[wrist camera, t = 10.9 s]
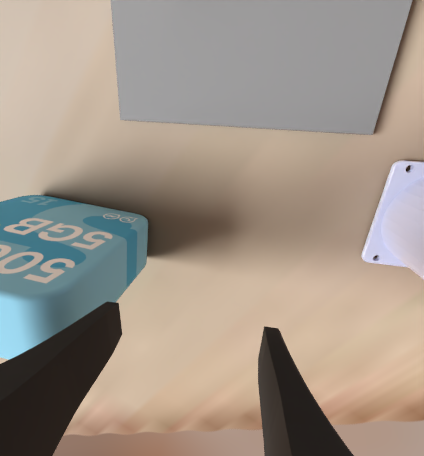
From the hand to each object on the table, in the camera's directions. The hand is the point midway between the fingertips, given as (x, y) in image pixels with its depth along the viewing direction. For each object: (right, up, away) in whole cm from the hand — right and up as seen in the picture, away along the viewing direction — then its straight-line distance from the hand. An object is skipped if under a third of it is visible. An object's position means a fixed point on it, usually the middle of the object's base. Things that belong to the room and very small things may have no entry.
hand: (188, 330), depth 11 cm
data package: (-10, +5, +11) cm, 16 cm away
